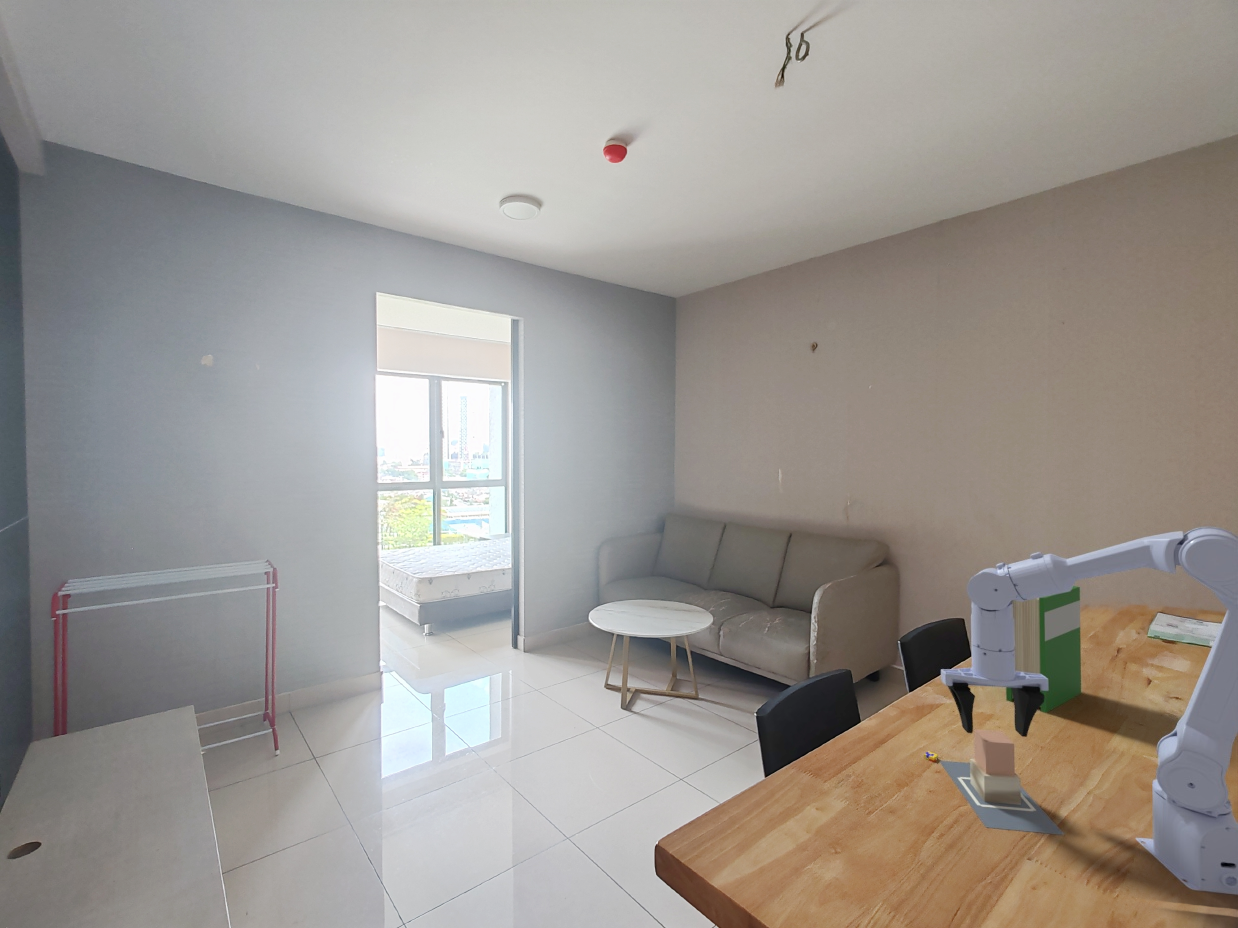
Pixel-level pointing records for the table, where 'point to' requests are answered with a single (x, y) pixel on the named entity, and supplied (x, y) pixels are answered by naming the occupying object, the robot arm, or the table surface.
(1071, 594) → the hardback book
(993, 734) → the terracotta block
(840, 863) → the table surface
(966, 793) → the board
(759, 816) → the table surface
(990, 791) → the birch base block
